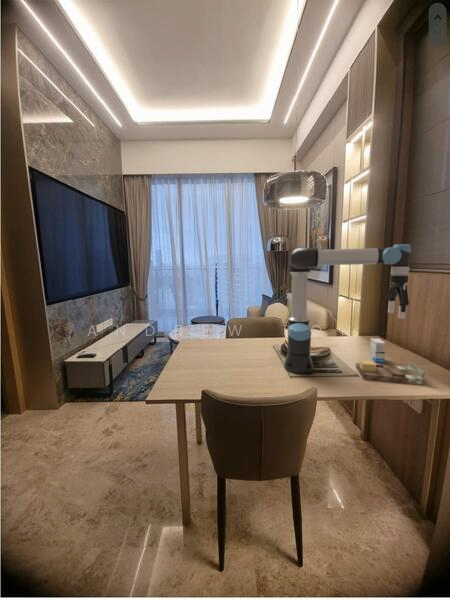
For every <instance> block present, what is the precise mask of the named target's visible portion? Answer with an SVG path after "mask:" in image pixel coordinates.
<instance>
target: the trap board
mask: <svg viewBox="0 0 450 600" xmlns="http://www.w3.org/2000/svg"><path fill="white" fill-rule="evenodd" d="M375 364H376V372H374V371H362V370H361V368H360V367H359V366H360V362H356V363H355V369H356V370H357V371H358V373H359V375H360V376H361V378H362V379H363V380H367V381H368V380H369V381H377V382H389V383H390V382H391V383H401V384H411V385H412V384H414V385H422V386H423V385H424V384H425V371H424V370H423V369H422V368H420V367H419V366H418V365H417V364H416V363H414V362H413V361H412V360H408V363H407V365H408V366H401V365H389V364H378V363H375Z"/></svg>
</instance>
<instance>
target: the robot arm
mask: <svg viewBox="0 0 450 600" xmlns="http://www.w3.org/2000/svg"><path fill="white" fill-rule="evenodd" d="M411 254H412V246H411V244H409V243H408V244H407V243H403V244H402V243H401V244H400V243H399V244H393V246H392V247H390V246H389V247H379V248H377V247H375V248H373V247H371V248H368V247H367V248H344V249H343V248H341V249H340V248H339V249H337V248H336V249H335V248H334V249H320V248H319V247H306V246H298V247H296V248H294V249H293V250H292V251H291V252H290V253H289V257H288V261H289V262H288V263H289V264H288V265H289V266H288V268H289V269H288V270H289V271H288V272H289V273H290V275H291V297H290V298H291V299H290V300H291V301H290V302H291V304H290V305H291V306H290V309H291V310H290V316H289V317H288V319H287V320H288V321H287V322H288V326H287V355H286V357H285V360H284V363H283V368H284V369H285V370H286V371H287V372H290V373H293V374H300V375H301V374H302V375H304V374H309V373H312V372H313V371H314V363H313V360H312V357H311V345H312V344H311V342H312V339H311V338H312V329H311V327H310V319H309V317H307V312H308V307H307V306H308V277H309V274H310V273H311V271H312V270H311V269H312V268H319V267H320V266H343V265H344V266H346V265H348V266H350V265H351V266H352V265H353V266H354V265H357V266H358V265H391V268H390V278H389V279H390V280H389V282H390V286H389V290H388V294H387V297H386V298H387V300H388V306H387V307H388V308H387V313H388V314H390V313H391V314H394V313H395V305H396V297H397V296H398V301H399V304H398V317H397V318H398V319H406V312H407V306H409V305H410V302H409V294H408V293H409V292H408V285H405V284H407V283H409V274H410V270H411V268H410V260H411V256H412V255H411Z"/></svg>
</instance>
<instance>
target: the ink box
mask: <svg viewBox="0 0 450 600" xmlns="http://www.w3.org/2000/svg"><path fill="white" fill-rule="evenodd" d="M369 348H370V349H369V358H370V359H371V361H373V362H374V363H375V364H378V363H379V364H385V358H386V342H385V341H383V340H382V339H380V338H370V347H369Z"/></svg>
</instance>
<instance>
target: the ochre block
mask: <svg viewBox="0 0 450 600" xmlns="http://www.w3.org/2000/svg"><path fill="white" fill-rule="evenodd" d="M359 363H360V366H359V367H360V368H361V370H362V371H374V372H376V364H377V363H375V362H374V361H373V360H367V359H366V360H363V359H362V360H361V359H360V360H359Z"/></svg>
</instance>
